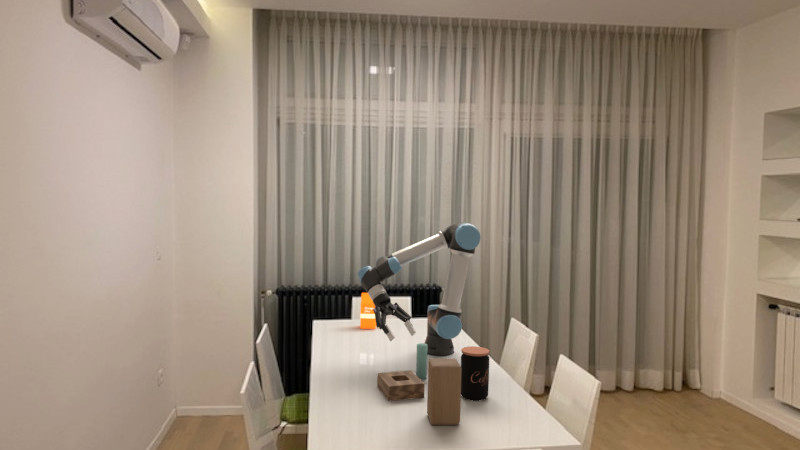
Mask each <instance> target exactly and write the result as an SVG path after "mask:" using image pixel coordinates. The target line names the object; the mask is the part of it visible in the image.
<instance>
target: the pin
mask: <svg viewBox="0 0 800 450" xmlns="http://www.w3.org/2000/svg"><path fill="white" fill-rule="evenodd" d="M424 343H425V342H422V343H417V344H416V362H415V364H416V366H415V369H416V370H415V371H416V372H415V375H416V376H417V377H418V378H419V379H420V380H426V379H428V353H427V344H424Z"/></svg>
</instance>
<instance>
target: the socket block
mask: <svg viewBox="0 0 800 450" xmlns="http://www.w3.org/2000/svg"><path fill="white" fill-rule="evenodd" d="M376 375H377V379H376V380H377V381H376V387H377V388H378V389H379V391H380V392H381V393H382V395H383V396H384V397H385V398H386V399H387V401H388V402H393V401H401V400H402V401H404V400H411V399H412V400H415V399H424V398H425V382H424V381H423V379H419V378H418V377H417V376H416V373H414V372H413V370H399V371H389V372H388V371H387V372H377V374H376Z"/></svg>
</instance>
